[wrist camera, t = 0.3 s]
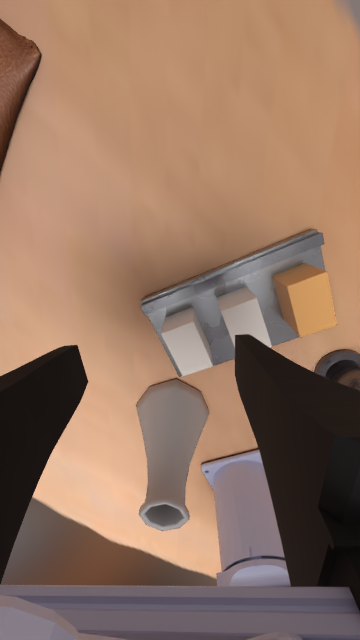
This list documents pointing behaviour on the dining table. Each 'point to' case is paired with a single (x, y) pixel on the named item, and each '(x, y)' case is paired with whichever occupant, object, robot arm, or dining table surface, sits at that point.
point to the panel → (229, 278)
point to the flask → (169, 449)
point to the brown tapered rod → (14, 79)
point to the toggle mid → (243, 315)
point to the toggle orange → (305, 299)
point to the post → (341, 367)
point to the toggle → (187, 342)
